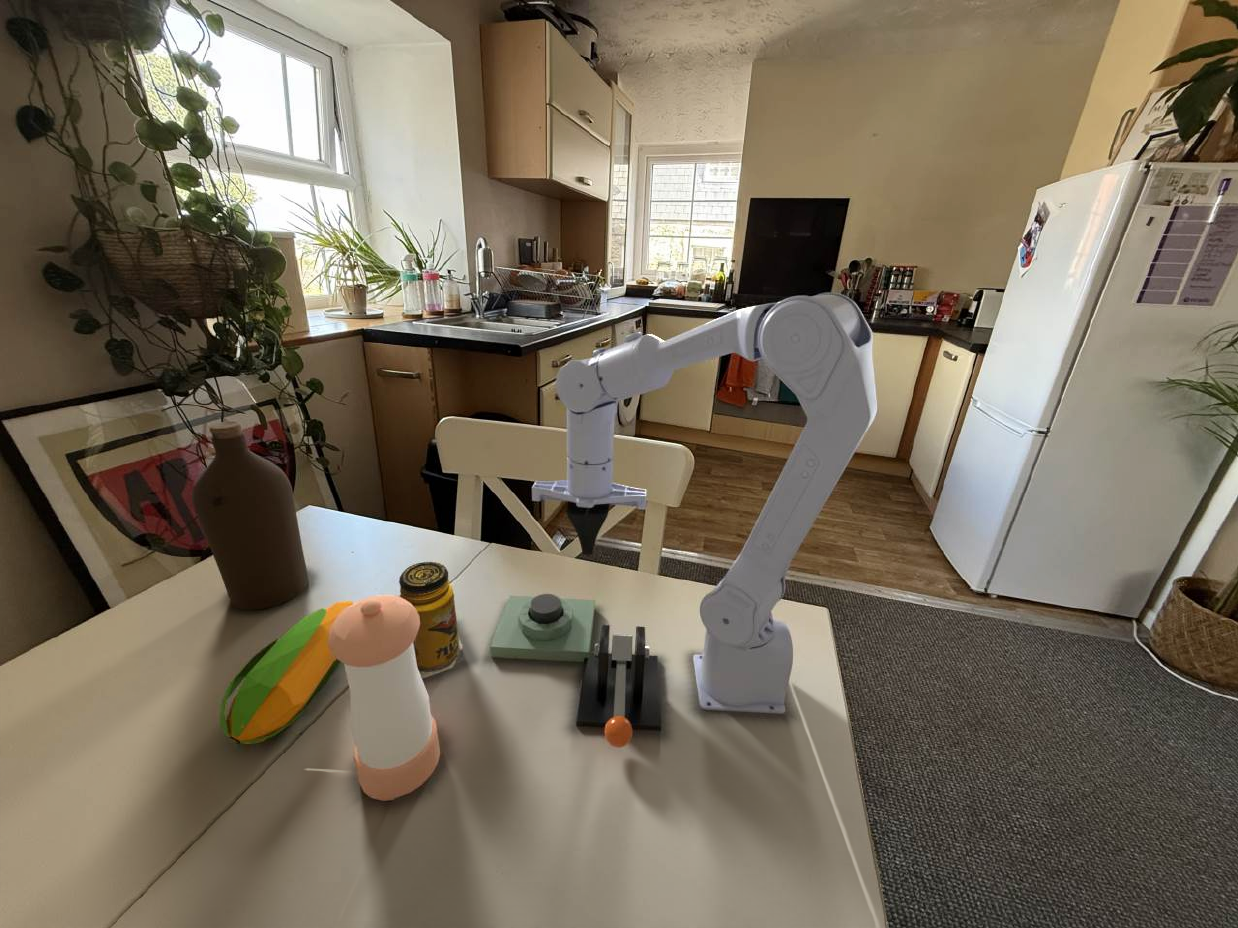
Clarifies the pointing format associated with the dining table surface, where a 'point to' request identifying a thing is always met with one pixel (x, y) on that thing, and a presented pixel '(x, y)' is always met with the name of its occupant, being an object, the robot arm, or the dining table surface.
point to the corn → (281, 679)
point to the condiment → (432, 616)
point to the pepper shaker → (386, 696)
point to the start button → (545, 608)
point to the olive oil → (250, 523)
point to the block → (544, 632)
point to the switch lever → (620, 692)
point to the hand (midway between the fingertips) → (588, 550)
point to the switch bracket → (601, 686)
